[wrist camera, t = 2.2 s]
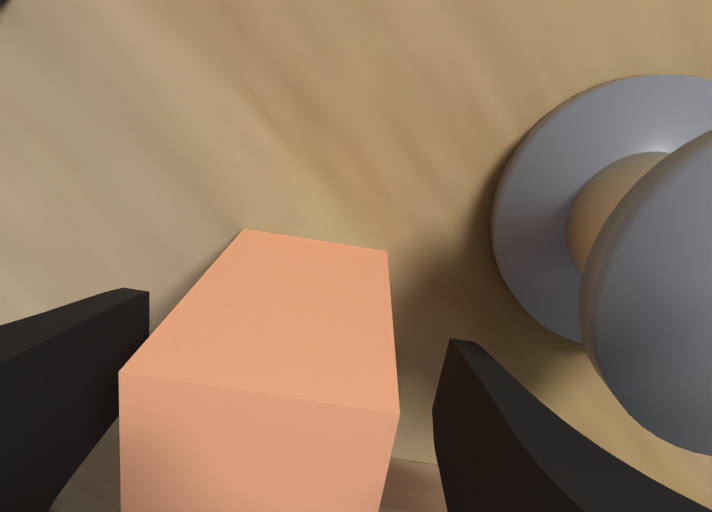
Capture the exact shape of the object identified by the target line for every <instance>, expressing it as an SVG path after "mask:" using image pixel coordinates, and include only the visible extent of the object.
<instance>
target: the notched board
mask: <svg viewBox="0 0 712 512" xmlns="http://www.w3.org/2000/svg"><path fill="white" fill-rule="evenodd" d="M378 512H447V507H446V502H445V497H444V492H443V487H442V482H441V477H440V472H439V467H438V465H432V464H425V463H419V462H412V461H405V460H398V459H391V458H390V462H389V466H388V471H387V475H386V480H385V484H384V489H383V493H382V498H381V502H380V507H379V511H378Z"/></svg>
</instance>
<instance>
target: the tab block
mask: <svg viewBox="0 0 712 512" xmlns="http://www.w3.org/2000/svg"><path fill="white" fill-rule="evenodd" d="M118 373H119V432H120V490H121V512H378V511H379V507H380V502H381V498H382V493H383V489H384V484H385V480H386V475H387V471H388V466H389V462H390V457H391V453H392V448H393V444H394V439H395V435H396V430H397V426H398V421H399V417H400V406H399V394H398V381H397V369H396V356H395V344H394V331H393V319H392V306H391V294H390V281H389V269H388V256H387V251H383V250H377V249H370V248H364V247H358V246H351V245H345V244H338V243H332V242H326V241H319V240H313V239H306V238H300V237H294V236H287V235H281V234H274V233H268V232H262V231H255V230H249V229H243V230H242V231H241V232H240V233H239V235H238V236H237V237H236V238H235V239H234V240H233V241H232V243H231V244H230V245H229V246H228V247H227V248H226V249H225V251H224V252H223V253H222V254H221V255H220V256H219V257H218V259H217V260H216V261H215V262H214V263H213V264H212V265H211V267H210V268H209V269H208V270H207V271H206V272H205V273H204V275H203V276H202V277H201V278H200V279H199V280H198V281H197V283H196V284H195V285H194V286H193V287H192V288H191V289H190V291H189V292H188V293H187V294H186V295H185V296H184V297H183V299H182V300H181V301H180V302H179V303H178V304H177V305H176V307H175V308H174V309H173V310H172V311H171V312H170V314H169V315H168V316H167V317H166V318H165V319H164V320H163V322H162V323H161V324H160V325H159V326H158V327H157V328H156V330H155V331H154V332H153V333H152V334H151V335H150V336H149V338H148V339H147V340H146V341H145V342H144V343H143V344H142V346H141V347H140V348H139V349H138V350H137V351H136V352H135V354H134V355H133V356H132V357H131V358H130V359H129V360H128V362H127V363H126V364H125V365H124V366H123V367H122V368H121V370H120V371H119V372H118Z"/></svg>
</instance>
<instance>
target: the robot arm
mask: <svg viewBox="0 0 712 512" xmlns="http://www.w3.org/2000/svg"><path fill="white" fill-rule="evenodd" d="M148 338H149V292H148V291H141V290H135V289H128V288H120V289H115V290H111V291H108V292H104V293H101V294H98V295H95V296H92V297H89V298H86V299H83V300H80V301H77V302H74V303H71V304H68V305H65V306H62V307H59V308H56V309H53V310H50V311H47V312H44V313H40V314H37V315H34V316H31V317H27V318H24V319H21V320H17V321H14V322H11V323H7V324H4V325H1V326H0V512H47V511H48V510H49V508H50V507H51V505H52V503H53V502H54V500H55V499H56V497H57V496H58V494H59V493H60V492H61V490H62V489H63V487H64V486H65V485H66V483H67V482H68V480H69V479H70V478H71V476H72V475H73V474H74V473H75V471H76V470H77V469H78V467H79V466H80V465H81V463H82V462H83V461H84V460H85V458H86V457H87V456H88V454H89V453H90V452H91V451H92V449H93V448H94V447H95V445H96V444H97V443H98V441H99V440H100V439H101V438H102V436H103V435H104V434H105V432H106V431H107V430H108V429H109V427H110V426H111V425H112V423H113V422H114V421H115V419H116V418H117V417H118V415H119V373H118V372H119V371H120V370H121V368H122V367H123V366H124V365H125V364H126V363H127V362H128V360H129V359H130V358H131V357H132V356H133V355H134V354H135V352H136V351H137V350H138V349H139V348H140V347H141V346H142V344H143V343H144V342H145V341H146V340H147V339H148ZM432 414H433V432H434V446H435V452H436V457H437V462H438V467H439V472H440V477H441V482H442V487H443V492H444V497H445V502H446V507H447V512H712V510H710V509H708V508H706V507H704V506H703V505H701V504H699V503H697V502H695V501H693V500H691V499H689V498H687V497H685V496H683V495H681V494H679V493H677V492H675V491H673V490H671V489H670V488H668V487H666V486H664V485H662V484H660V483H659V482H657V481H655V480H653V479H651V478H650V477H648V476H646V475H644V474H643V473H641V472H640V471H638V470H636V469H635V468H633V467H631V466H630V465H628V464H626V463H625V462H623V461H621V460H620V459H618V458H616V457H615V456H613V455H612V454H610V453H609V452H607V451H605V450H604V449H602V448H601V447H599V446H598V445H597V444H595V443H594V442H592V441H591V440H590V439H588V438H587V437H585V436H584V435H582V434H581V433H580V432H578V431H577V430H575V429H574V428H573V427H571V426H570V425H569V424H567V423H566V422H565V421H563V420H562V419H561V418H560V417H558V416H557V415H556V414H555V413H554V412H552V411H551V410H550V409H549V408H548V407H546V406H545V405H544V404H543V403H542V402H540V401H539V400H538V399H537V398H536V397H535V396H533V395H532V394H531V393H530V392H529V391H528V390H527V389H526V388H524V387H523V386H522V385H521V384H520V383H519V382H518V381H517V380H516V379H515V378H514V377H513V376H512V375H511V374H509V373H508V372H507V371H506V370H505V369H504V368H503V367H502V366H501V365H500V364H499V363H498V362H497V361H496V360H495V359H494V358H493V357H492V356H491V355H490V354H488V353H487V352H486V351H485V350H484V349H483V348H482V347H481V346H480V345H478V344H477V343H476V342H471V341H464V340H458V339H452V338H450V340H449V344H448V348H447V352H446V356H445V360H444V364H443V368H442V372H441V376H440V380H439V384H438V388H437V392H436V396H435V400H434V404H433V408H432Z"/></svg>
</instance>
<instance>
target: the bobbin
mask: <svg viewBox="0 0 712 512" xmlns="http://www.w3.org/2000/svg"><path fill="white" fill-rule="evenodd" d="M490 232H491V244H492V249H493V253H494V257H495V261H496V263H497V266H498V268H499V271H500V273H501V275H502V277H503V279H504V280H505V282H506V284H507V286H508V287H509V289H510V290H511V292H512V293H513V295H514V296H515V298H516V299H517V301H518V302H519V303H520V304H521V306H522V307H523V308H524V309H525V311H526V312H527V313H528V314H530V315H531V316H532V317H533V318H534V319H535V320H536V321H537V322H539V323H540V324H541V325H543V326H544V327H546V328H547V329H549V330H550V331H552V332H554V333H556V334H558V335H560V336H562V337H564V338H567V339H570V340H572V341H575V342H578V343H582V344H584V347H585V349H586V352H587V355H588V358H589V359H590V361H591V363H592V365H593V367H594V368H595V370H596V372H597V374H598V375H599V376H600V377H601V379H602V380H603V381H604V383H605V384H606V385H607V387H608V388H609V389H610V391H611V392H612V393H613V394H614V396H615V397H616V398H617V400H618V401H619V402H620V404H621V405H622V406H623V407H624V409H625V410H626V411H627V412H628V414H629V415H630V416H632V417H633V418H634V419H635V420H636V421H637V422H638V423H639V424H640V425H641V426H642V427H644V428H645V429H647V430H648V431H650V432H651V433H653V434H654V435H656V436H657V437H659V438H661V439H663V440H665V441H667V442H669V443H671V444H673V445H675V446H677V447H680V448H683V449H686V450H689V451H692V452H695V453H700V454H705V455H709V456H712V81H711V80H707V79H703V78H699V77H695V76H684V75H641V76H631V77H626V78H620V79H615V80H612V81H608V82H605V83H602V84H599V85H596V86H594V87H591V88H589V89H587V90H585V91H583V92H580V93H578V94H576V95H575V96H573V97H571V98H570V99H568V100H566V101H565V102H563V103H561V104H560V105H559V106H557V107H556V108H555V109H553V110H552V111H551V112H550V113H548V114H547V115H546V116H544V117H543V118H542V119H541V120H540V121H539V122H538V123H537V124H536V125H535V126H534V127H533V128H532V129H531V130H530V131H529V132H528V134H527V135H526V136H525V137H524V139H523V140H522V141H521V142H520V143H519V145H518V146H517V148H516V149H515V151H514V152H513V154H512V156H511V157H510V159H509V160H508V162H507V164H506V166H505V168H504V170H503V173H502V175H501V177H500V179H499V182H498V185H497V188H496V191H495V194H494V199H493V204H492V210H491V222H490Z"/></svg>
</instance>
